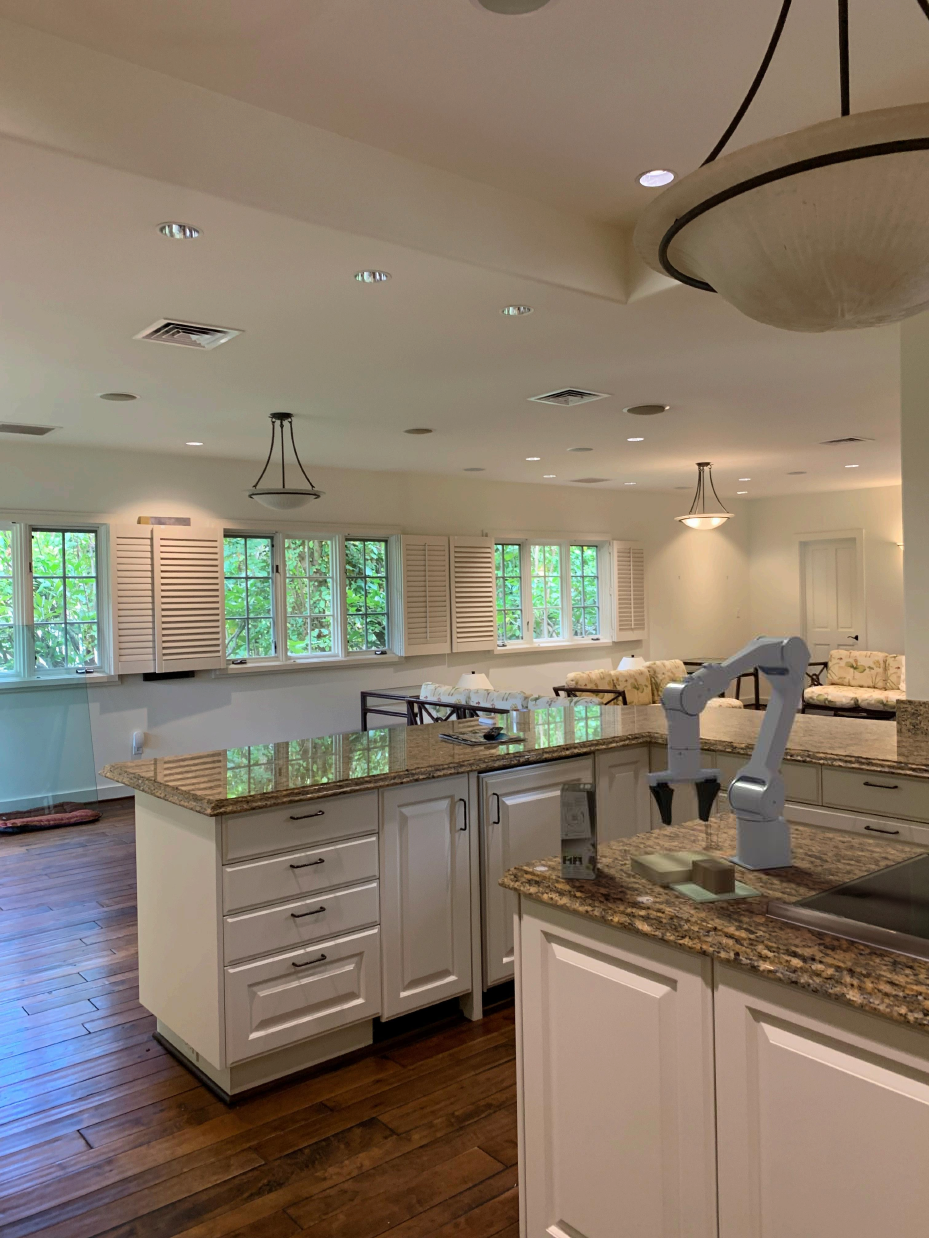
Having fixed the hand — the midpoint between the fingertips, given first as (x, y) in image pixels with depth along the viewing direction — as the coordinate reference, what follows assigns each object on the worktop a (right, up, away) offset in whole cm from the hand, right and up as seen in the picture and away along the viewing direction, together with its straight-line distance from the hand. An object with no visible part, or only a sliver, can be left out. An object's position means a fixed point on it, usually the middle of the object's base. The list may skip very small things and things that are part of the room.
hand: (685, 822), depth 161 cm
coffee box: (-19, -10, +4) cm, 22 cm away
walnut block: (+2, -7, -5) cm, 9 cm away
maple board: (0, -10, +1) cm, 10 cm away
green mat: (+3, -10, -9) cm, 14 cm away
